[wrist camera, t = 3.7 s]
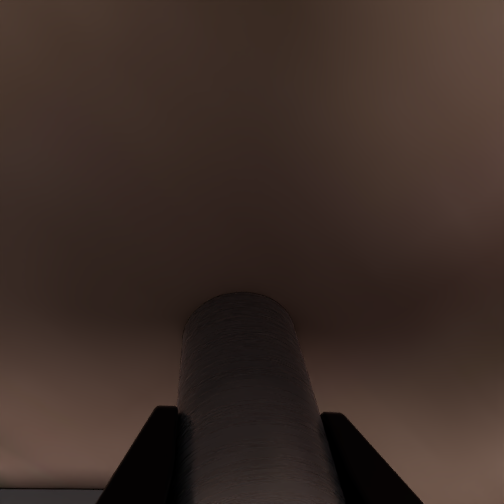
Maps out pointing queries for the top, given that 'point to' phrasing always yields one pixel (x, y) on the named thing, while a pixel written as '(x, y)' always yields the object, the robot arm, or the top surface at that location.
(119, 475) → the robot arm
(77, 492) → the bore board
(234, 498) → the steel pin
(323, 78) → the top surface
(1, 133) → the top surface
